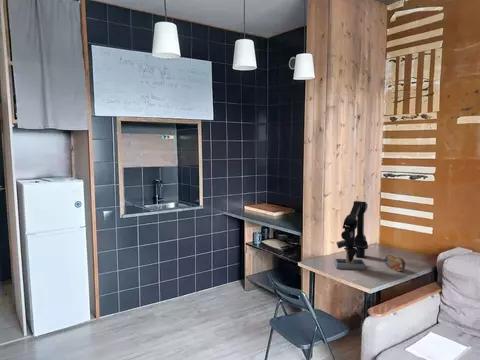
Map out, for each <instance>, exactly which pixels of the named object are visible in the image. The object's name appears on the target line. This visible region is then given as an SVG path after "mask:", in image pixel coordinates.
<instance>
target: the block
mask: <svg viewBox="0 0 480 360" xmlns="http://www.w3.org/2000/svg"><path fill="white" fill-rule="evenodd" d="M345 259H346V263H347V264H353V260H354V259H355V256H354V257H353V259H352V261H351V262H349V256H348V253H347V252H346V253H345Z"/></svg>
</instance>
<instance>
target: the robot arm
mask: <svg viewBox="0 0 480 360" xmlns="http://www.w3.org/2000/svg"><path fill="white" fill-rule="evenodd" d="M368 206H369V205H368V203H367V201H361V200H360V201H359V200H354V201H353V205H352V208H351V210H350V212H349V214H348V215H346V216H345V218H344V220H343V225H342V230H343V229H344V231H343V232H341V234H340V236H341V238H342V240H340V241H339V240H338V241H337V242H336V245H337V248H338V249H341V248H343V249H344V250H345V252H346V253H348V256H349V262H351V261H352V259H353V257H354V258H355V257H356V258H367V256H366V250H368V249H369V245H368V240H367V237H366V235H365V234H364V233H365V213H366V212H367V209H368Z"/></svg>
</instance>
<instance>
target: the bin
mask: <svg viewBox="0 0 480 360" xmlns="http://www.w3.org/2000/svg"><path fill="white" fill-rule="evenodd" d="M333 264H334V266H335V269H336V270H354V271H356V270H357V271H359V270H360V271H365V270H366V263H365V262H364V261H363V259H355V258H354V260H353V264H347V263H346V258H334V263H333Z"/></svg>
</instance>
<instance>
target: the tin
mask: <svg viewBox="0 0 480 360" xmlns="http://www.w3.org/2000/svg"><path fill="white" fill-rule="evenodd" d="M384 263H385V265H386V267H387V268H388V269H391V270H394V271H396V272H403V271H405V269H406V261H405V259H403V258H402V257H399V256H397V255H393V254H387V255H386V256H385V258H384Z"/></svg>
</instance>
